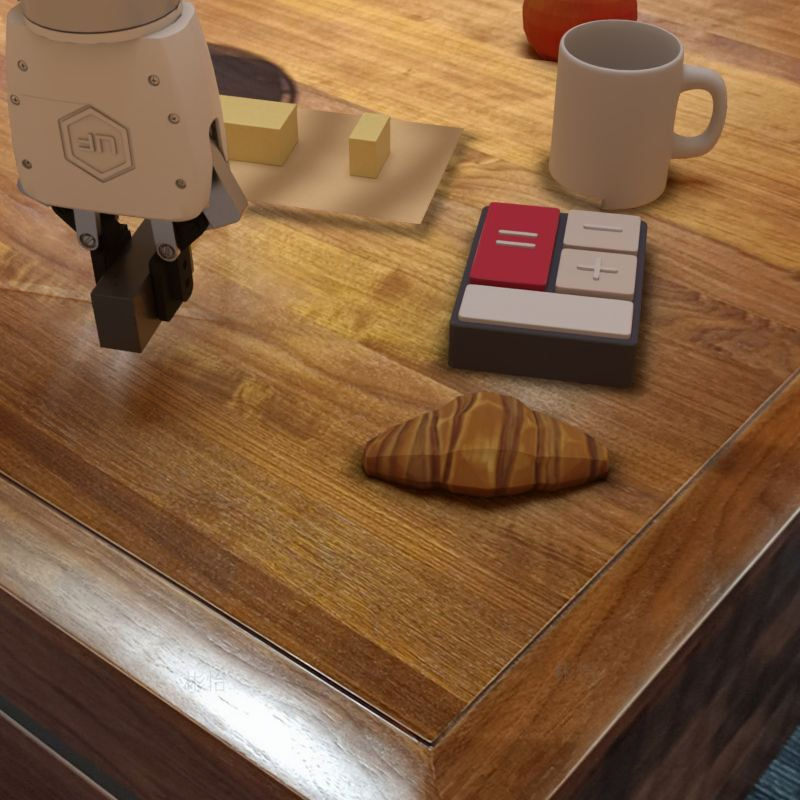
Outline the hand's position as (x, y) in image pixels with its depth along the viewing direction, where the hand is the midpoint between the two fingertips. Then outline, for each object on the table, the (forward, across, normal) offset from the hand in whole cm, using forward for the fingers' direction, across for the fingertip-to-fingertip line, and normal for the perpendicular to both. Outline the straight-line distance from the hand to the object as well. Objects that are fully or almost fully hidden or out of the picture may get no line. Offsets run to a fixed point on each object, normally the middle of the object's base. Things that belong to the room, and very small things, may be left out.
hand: (147, 301), depth 75 cm
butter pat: (+5, +5, +27) cm, 28 cm away
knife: (0, 0, +5) cm, 5 cm away
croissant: (+7, +20, -2) cm, 21 cm away
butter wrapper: (+7, 0, +27) cm, 28 cm away
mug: (+7, +24, +31) cm, 40 cm away
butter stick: (+5, -4, +27) cm, 28 cm away
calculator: (+7, +21, +14) cm, 26 cm away
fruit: (+7, +17, +51) cm, 54 cm away
